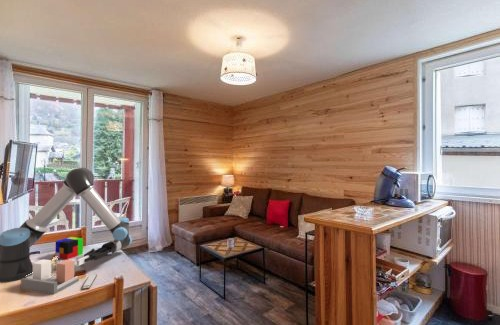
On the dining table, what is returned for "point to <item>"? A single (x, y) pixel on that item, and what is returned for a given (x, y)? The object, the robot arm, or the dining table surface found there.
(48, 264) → the white rectangular block
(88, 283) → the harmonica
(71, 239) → the puzzle toy
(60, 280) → the salmon pink block
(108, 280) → the dining table surface
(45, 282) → the base
